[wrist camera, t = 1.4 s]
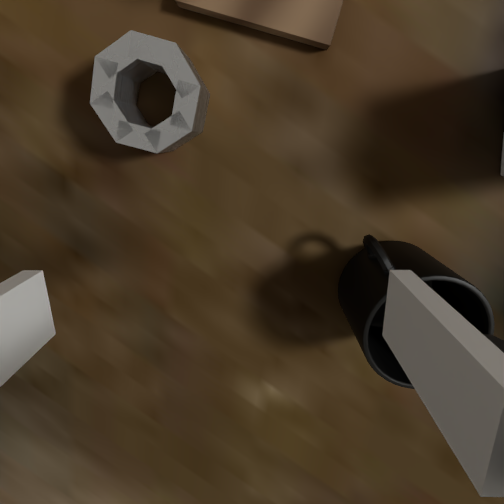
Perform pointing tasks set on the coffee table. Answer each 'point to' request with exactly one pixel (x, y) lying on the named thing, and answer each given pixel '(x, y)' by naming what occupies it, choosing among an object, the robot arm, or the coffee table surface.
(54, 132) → the coffee table surface
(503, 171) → the soap bottle
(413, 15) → the coffee table surface
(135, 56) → the ring
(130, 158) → the coffee table surface
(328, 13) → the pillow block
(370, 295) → the mug
